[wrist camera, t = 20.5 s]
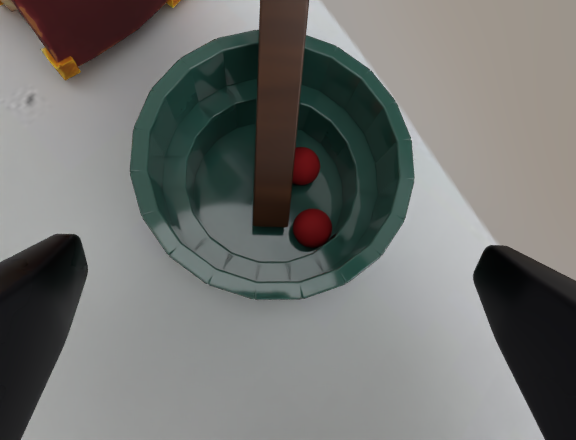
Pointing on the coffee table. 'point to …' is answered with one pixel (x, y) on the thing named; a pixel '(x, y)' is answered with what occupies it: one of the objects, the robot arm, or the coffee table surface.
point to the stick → (277, 107)
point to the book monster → (83, 26)
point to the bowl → (240, 170)
